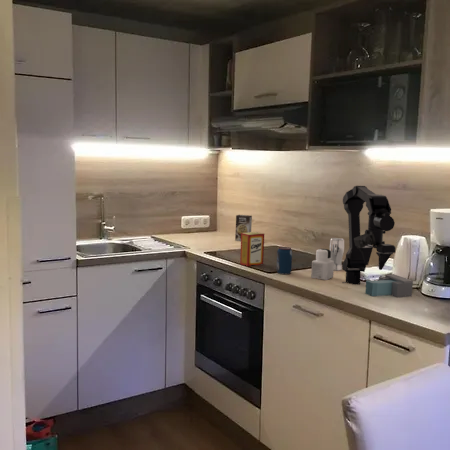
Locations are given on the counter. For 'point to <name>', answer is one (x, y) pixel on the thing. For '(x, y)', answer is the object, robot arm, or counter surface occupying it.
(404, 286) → the header
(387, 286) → the teal rectangular block
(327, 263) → the container
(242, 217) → the coffee box
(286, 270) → the soda can
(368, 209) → the robot arm
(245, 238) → the baking soda box
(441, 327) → the counter surface
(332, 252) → the beer glass
